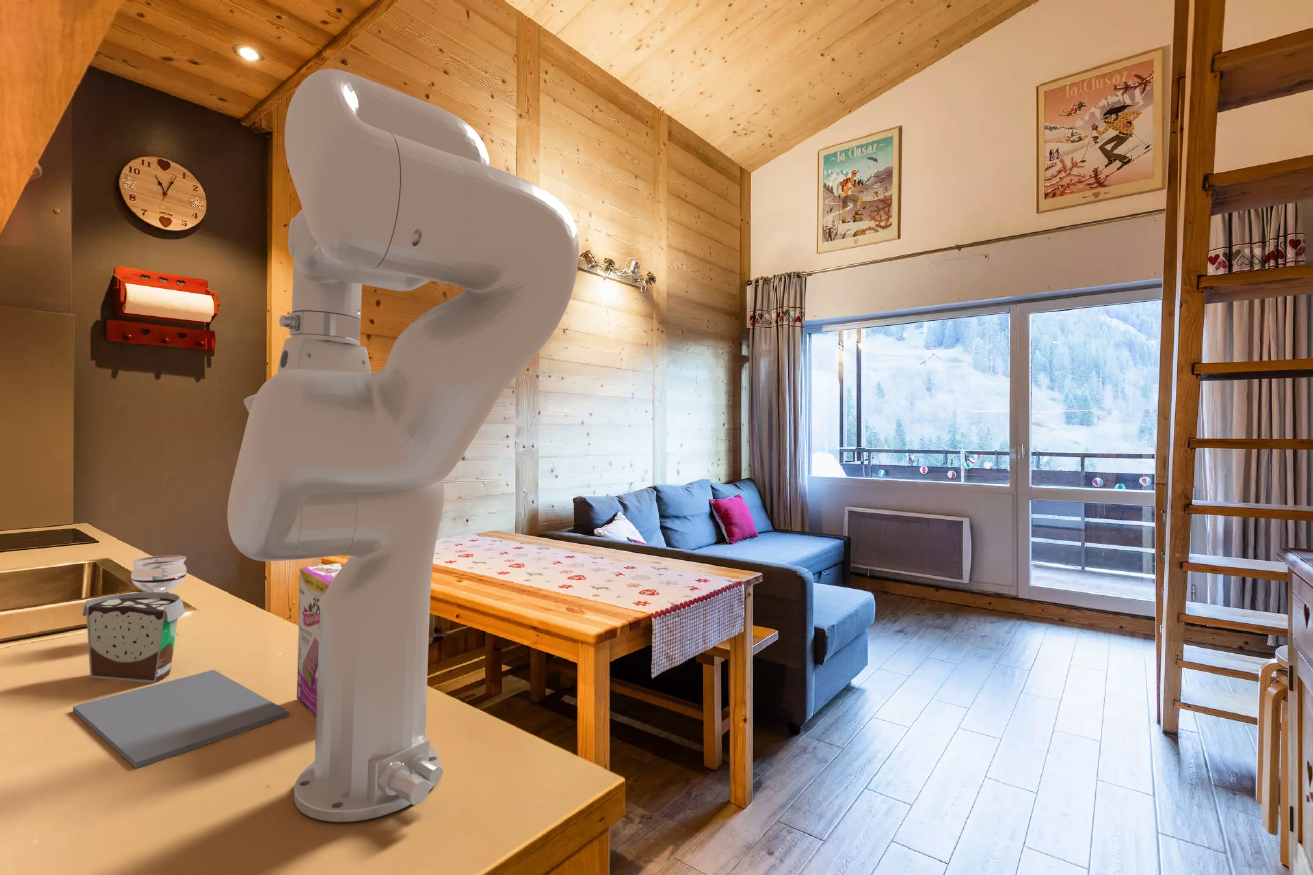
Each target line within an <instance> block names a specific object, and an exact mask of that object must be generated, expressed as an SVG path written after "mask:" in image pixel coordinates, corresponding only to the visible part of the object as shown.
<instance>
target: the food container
mask: <svg viewBox="0 0 1313 875" xmlns="http://www.w3.org/2000/svg"><path fill="white" fill-rule="evenodd" d="M185 612H186V611H185V607H184V602H183V601H182V599H181V596H180V595H178V594H176V593H172V592H166V593H165V592H145V591H142V592H129V593H128V592H127V593H121V594H113V595H106V596H101V597H97V598H96V597H95V598H91V599H87V600H85V604H84V606H83V609H82V613H81V616H82V617H84V616H86V627H87V628H86V629H87V644H88V646H87V647H88V660H89V661H88V663H89V664H88V665H89V674H90V675H89V678H90V679H91V678H94V679H102V680H103V679H104V680H117V681H129V682H130V681H131V682H141V683H154V684H156V683H157V684H158V683H159V682H160V681H162V680H164V679H166V678H167V677H168V676H169V675H170V673H171V671H172V670H171V669H172V662H173V655H174V648H175V641H176V640H175V639H176V636H177V635H176V632H177V626H178V621H179V620H178V619H179V618H181V617H183V615H184V614H185ZM175 635H176V636H175Z"/></svg>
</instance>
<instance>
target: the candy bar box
mask: <svg viewBox="0 0 1313 875" xmlns="http://www.w3.org/2000/svg"><path fill="white" fill-rule="evenodd" d="M343 566H344V564H342V563H339V562H337V563H329V564H320V565H315V566H313V565H310V566H306V567H302V568H301V567H300V568H299V584H298V586H299V587H298V589H299V590H298V591H299V593H298V594H299V597H298V640H297V641H298V642H297V678H296V679H297V680H296V681H297V682H296V684H297V685H296V699H297V700H298V701H300V703H301V704H302V705H303V706H305V707H306V709H307V710H308V711H310V713H311V714H312V715H313V716H315V717H316V710H317V681H318V651H319V624H320V609H321V604H322V600H323V597H324V595H325V592H326V590H327V588H328V587H329V585H330V583H331V582H332V580H333V579H334V577H335V576H336V575H337V573H338V572H339V571H340V569H341V568H342V567H343Z"/></svg>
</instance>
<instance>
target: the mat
mask: <svg viewBox="0 0 1313 875" xmlns="http://www.w3.org/2000/svg"><path fill="white" fill-rule="evenodd" d="M72 712H73V713H74V714H76V716H77V717H79V718H80V719H81V720H82V721H83V722H84V723H85V724H86V725H88V727H89V728H91V729H92V730H93V731H94V733H96V734H97V735H98V736H99V737H101V739H103V740H104V741H105V742H106V743H107V744H108V745H109V746H111V747H112V748H113V749H114V750H115V751H116V752H117V753H118V754H119V755H121V757H123V758H124V759H125V760H126V761H127V762H128V763H129V764H130V765H131V766H132V767H133V768H135V769H138V768H141V767H144V766H147V765H151V764H153V763H155V762H159V761H162V760H165V759H168V758H171V757H173V756H176V755H179V754H182V753H185V752H187V751H191V750H194V749H197V748H200V747H202V746H205V745H208V744H211V743H214V742H217V741H219V740H223V739H226V738H229V737H231V736H235V735H238V734H240V733H243V732H246V731H249V730H252V729H255V728H257V727H260V726H263V725H267V724H270V723H273V722H276V721H278V720H281V719H284V718H287V717H289V710H287V709H285V708H283V707H282V706H280V705H278V704H276V703H275V702H272V701H271V700H269V699H267V698H266V697H264V696H261V695H260V694H258V693H257V692H255V691H253V690H252V689H249V688H248V687H245V686H244V685H242V684H240V683H238V682H237V681H235V680H233V679H231V678H230V677H228V676H227V675H224V674H222V673H221V672H219V671H217V670H215V669H211V670H207V671H204V672H203V671H202V672H199V673H196V674H192V675H188V676H184V677H180V678H176V679H173V680H169V681H164V682H161V683H157V684H156V683H155V684H152V685H149V686H145V687H142V688H138V689H133V690H130V691H126V692H122V693H119V694H114V695H110V696H107V697H102V698H99V699H95V700H91V701H88V702H84V703H83V702H82V703H80V704H76V705H73V706H72Z"/></svg>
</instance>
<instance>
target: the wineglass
mask: <svg viewBox="0 0 1313 875" xmlns="http://www.w3.org/2000/svg"><path fill="white" fill-rule="evenodd" d="M186 560H187V556H186V555H185V556H184V555H157V556H156V555H154V556H147V557H142V558H137V559H134V560H132V561H131V563H132V565H133V567H134V568H133V569H132V570H131V575H130V578H131V582H132V584H133V585H134V586H136V587H137V588H138V589H139V590H141V591H142V592H165V593H168V591H170V590H174V589H175V588H177V587H178V586H179V585H180V584H181V583H182V582H183V581H184V579H185V578H186V576H187V571H188V570H187V565H185V563H184V562H185V561H186ZM176 634H177V635H178V632H177V633H176Z"/></svg>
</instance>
